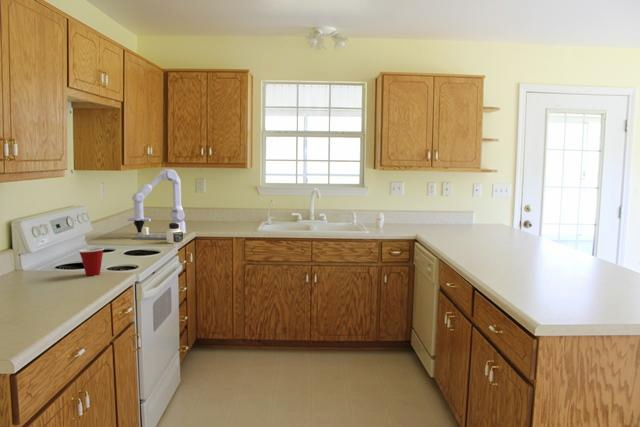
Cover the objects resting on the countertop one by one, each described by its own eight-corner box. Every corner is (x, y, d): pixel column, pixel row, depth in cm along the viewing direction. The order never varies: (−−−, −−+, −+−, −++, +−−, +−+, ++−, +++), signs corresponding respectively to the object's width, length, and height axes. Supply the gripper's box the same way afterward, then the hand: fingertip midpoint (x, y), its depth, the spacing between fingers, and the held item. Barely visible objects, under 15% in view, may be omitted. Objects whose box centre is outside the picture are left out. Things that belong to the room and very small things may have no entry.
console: (142, 235, 337) (142, 231, 336) (175, 236, 334) (175, 232, 334) (133, 239, 323) (133, 235, 322) (166, 240, 321) (166, 236, 320)
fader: (144, 234, 331) (144, 226, 330) (148, 234, 330) (148, 226, 330) (142, 235, 328) (141, 227, 327) (146, 235, 327) (146, 227, 327)
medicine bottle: (173, 243, 308) (173, 224, 306) (166, 242, 312) (165, 223, 311) (183, 242, 314) (182, 222, 312) (176, 240, 318) (175, 221, 316)
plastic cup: (97, 270, 239) (96, 245, 238) (110, 274, 233) (109, 248, 231) (74, 275, 230) (73, 249, 229) (87, 278, 224) (86, 251, 223)
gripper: (124, 212, 324) (125, 233, 326) (146, 212, 323) (147, 233, 325) (130, 210, 331) (131, 231, 333) (151, 211, 330) (152, 231, 331)
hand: (139, 232), depth 329 cm, fingers closed
